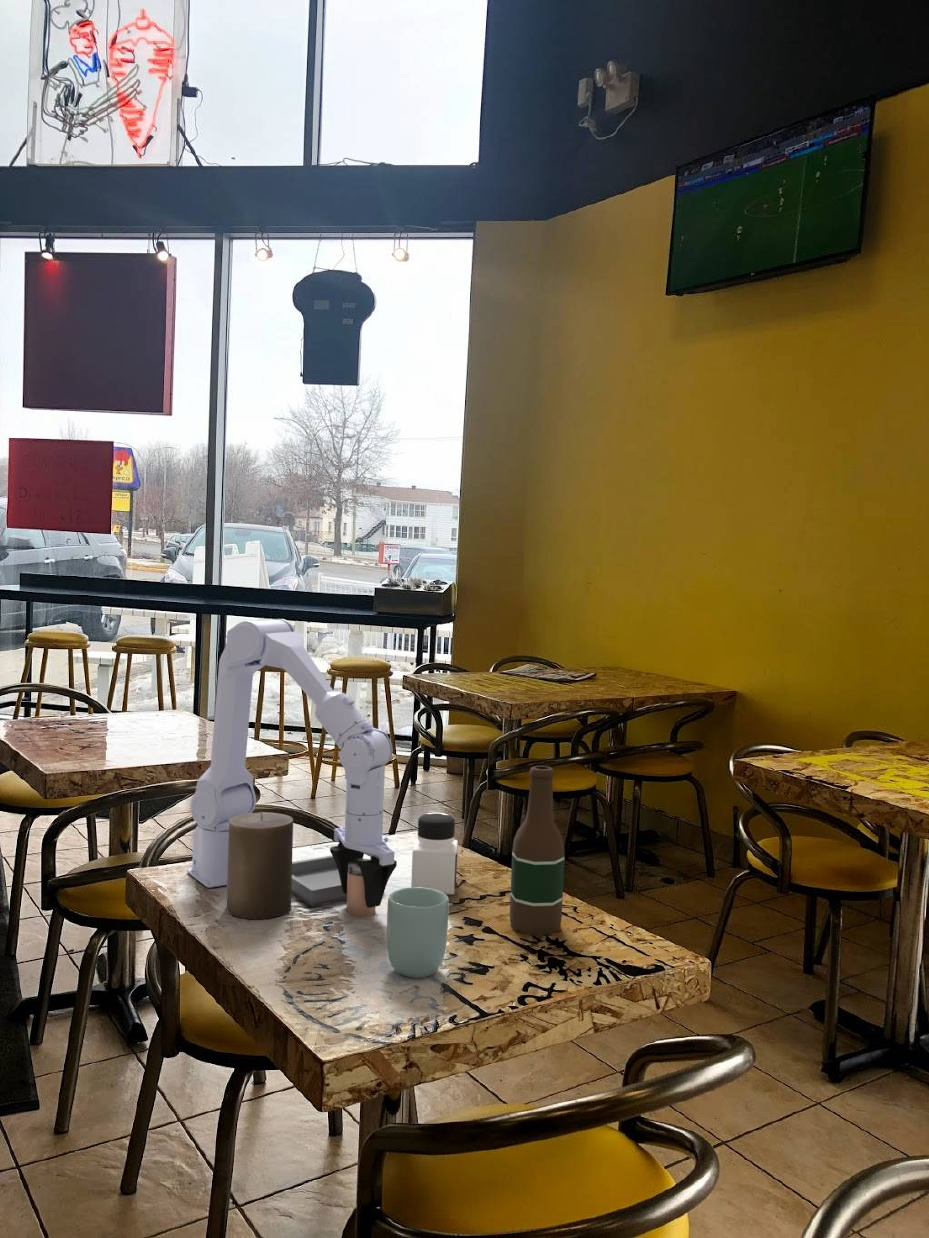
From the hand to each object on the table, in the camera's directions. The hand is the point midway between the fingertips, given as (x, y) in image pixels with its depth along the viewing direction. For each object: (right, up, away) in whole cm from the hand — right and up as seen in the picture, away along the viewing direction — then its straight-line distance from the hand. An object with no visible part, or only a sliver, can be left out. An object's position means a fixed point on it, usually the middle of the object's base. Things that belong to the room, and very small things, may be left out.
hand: (361, 898), depth 151 cm
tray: (-7, -1, +11) cm, 13 cm away
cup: (+9, -4, -21) cm, 23 cm away
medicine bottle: (+11, -2, +12) cm, 17 cm away
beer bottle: (+26, -3, -3) cm, 27 cm away
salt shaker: (0, -2, 0) cm, 2 cm away
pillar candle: (-16, -2, 0) cm, 16 cm away
